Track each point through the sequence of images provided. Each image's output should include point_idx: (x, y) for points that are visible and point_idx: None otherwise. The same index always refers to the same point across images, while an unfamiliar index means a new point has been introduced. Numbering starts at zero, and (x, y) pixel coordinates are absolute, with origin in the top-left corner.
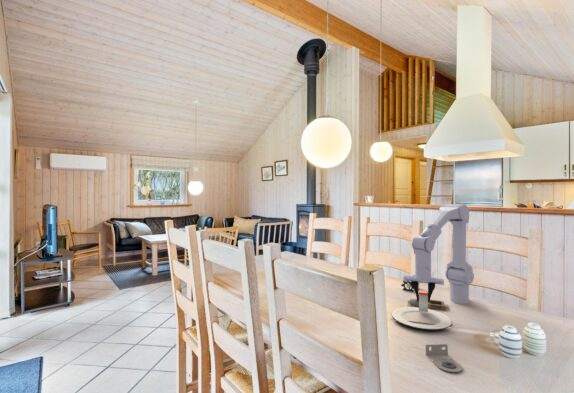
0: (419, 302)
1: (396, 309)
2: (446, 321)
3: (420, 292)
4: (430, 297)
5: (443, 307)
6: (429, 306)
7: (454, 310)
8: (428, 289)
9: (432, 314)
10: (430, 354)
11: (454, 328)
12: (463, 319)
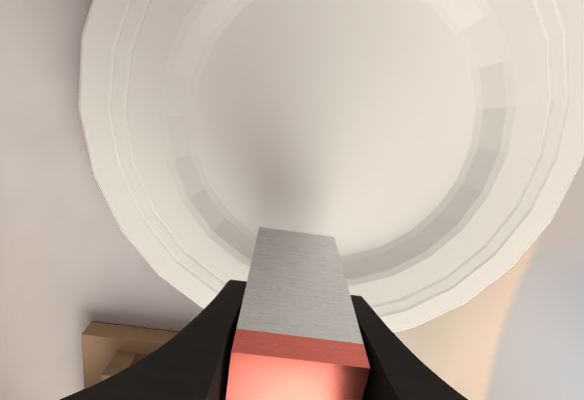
0: (339, 278)
1: (510, 264)
2: (121, 72)
3: (343, 372)
4: (205, 308)
5: (119, 366)
6: None
7: (60, 386)
8: (206, 389)
9: (222, 236)
10: None
11: (79, 25)
12: (5, 239)
